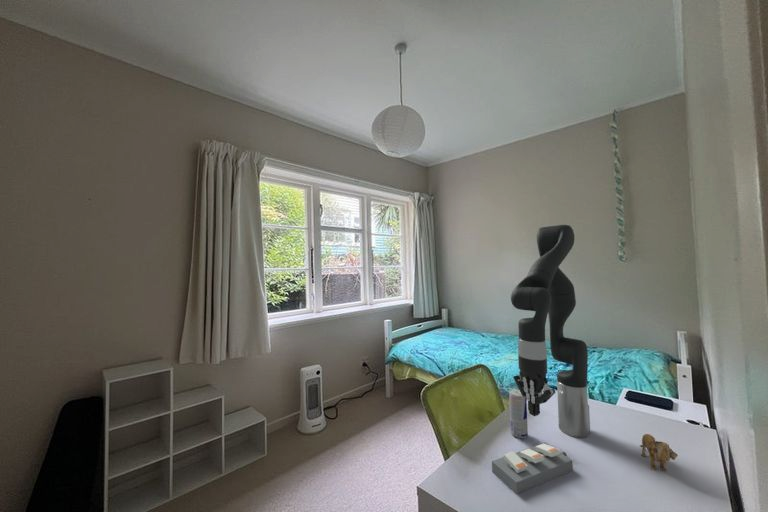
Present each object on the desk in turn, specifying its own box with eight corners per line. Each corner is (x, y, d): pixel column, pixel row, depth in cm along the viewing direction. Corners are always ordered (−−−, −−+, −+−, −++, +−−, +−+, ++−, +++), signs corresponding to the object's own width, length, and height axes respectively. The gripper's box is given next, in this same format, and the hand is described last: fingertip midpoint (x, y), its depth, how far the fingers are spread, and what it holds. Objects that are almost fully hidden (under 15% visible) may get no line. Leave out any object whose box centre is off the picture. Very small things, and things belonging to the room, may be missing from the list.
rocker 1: (512, 456, 85) (513, 450, 85) (526, 471, 80) (527, 465, 80) (503, 459, 84) (504, 453, 83) (517, 475, 79) (518, 468, 79)
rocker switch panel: (551, 449, 93) (551, 440, 94) (579, 467, 85) (579, 457, 85) (492, 471, 84) (491, 461, 84) (516, 493, 76) (516, 482, 76)
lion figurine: (681, 481, 79) (680, 448, 79) (658, 478, 81) (656, 445, 81) (649, 448, 93) (648, 420, 93) (630, 446, 95) (628, 418, 95)
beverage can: (529, 440, 99) (528, 396, 99) (512, 438, 100) (511, 395, 100) (525, 430, 104) (523, 389, 105) (508, 429, 105) (507, 388, 106)
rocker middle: (530, 455, 87) (528, 448, 87) (544, 462, 82) (543, 454, 83) (521, 458, 86) (519, 451, 86) (535, 466, 81) (534, 458, 81)
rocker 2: (545, 450, 89) (543, 442, 90) (560, 456, 85) (558, 448, 85) (536, 453, 88) (535, 445, 88) (551, 459, 83) (550, 452, 84)
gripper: (562, 359, 79) (564, 423, 79) (523, 347, 92) (524, 402, 91) (543, 363, 77) (544, 429, 76) (505, 350, 89) (506, 406, 88)
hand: (533, 414), depth 83 cm, fingers closed
